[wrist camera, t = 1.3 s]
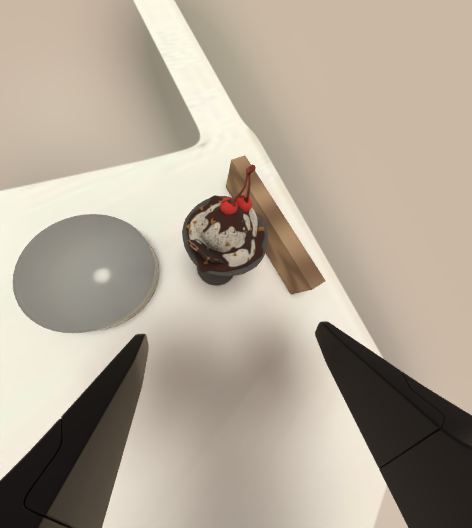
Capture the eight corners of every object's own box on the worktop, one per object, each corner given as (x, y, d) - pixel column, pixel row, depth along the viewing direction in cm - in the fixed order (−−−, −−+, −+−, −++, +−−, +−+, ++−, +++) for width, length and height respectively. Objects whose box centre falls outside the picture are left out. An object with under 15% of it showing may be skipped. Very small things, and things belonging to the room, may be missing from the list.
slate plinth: (175, 295, 22) (172, 292, 19) (63, 353, 18) (38, 360, 16) (134, 213, 24) (125, 199, 21) (24, 252, 20) (-5, 242, 17)
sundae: (235, 238, 25) (279, 140, 11) (246, 286, 24) (315, 244, 9) (186, 245, 24) (163, 142, 9) (195, 297, 22) (184, 266, 8)
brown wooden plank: (302, 287, 25) (325, 280, 20) (290, 294, 25) (312, 289, 20) (237, 182, 28) (245, 155, 23) (226, 186, 27) (231, 159, 22)
